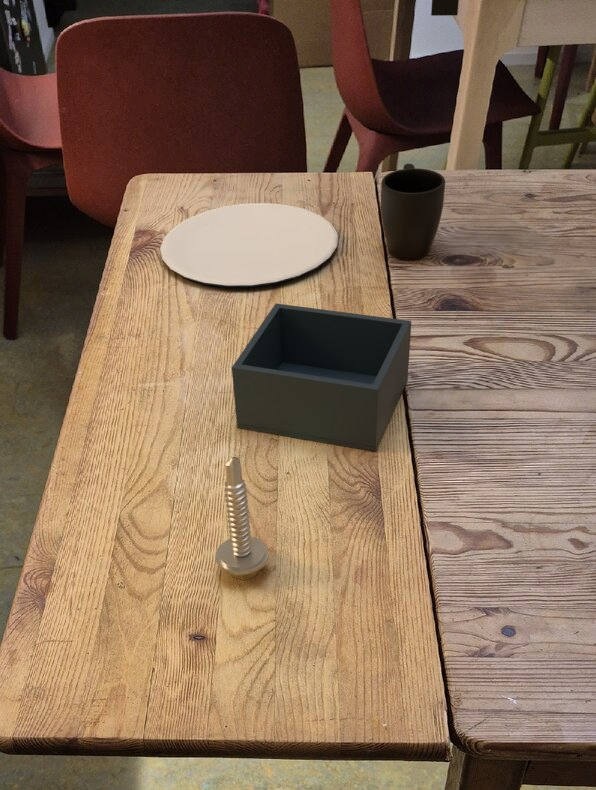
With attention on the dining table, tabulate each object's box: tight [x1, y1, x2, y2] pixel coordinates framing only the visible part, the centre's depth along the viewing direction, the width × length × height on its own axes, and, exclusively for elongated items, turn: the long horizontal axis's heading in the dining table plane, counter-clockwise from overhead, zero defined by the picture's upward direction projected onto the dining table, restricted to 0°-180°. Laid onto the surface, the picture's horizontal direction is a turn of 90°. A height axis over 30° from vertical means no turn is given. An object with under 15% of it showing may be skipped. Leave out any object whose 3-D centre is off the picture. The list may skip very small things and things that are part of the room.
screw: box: [215, 456, 270, 581], centre depth 81 cm, size 13×5×5 cm
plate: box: [159, 202, 339, 288], centre depth 130 cm, size 25×25×1 cm
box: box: [231, 303, 412, 452], centre depth 100 cm, size 14×16×8 cm
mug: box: [380, 163, 446, 261], centre depth 125 cm, size 8×12×10 cm
